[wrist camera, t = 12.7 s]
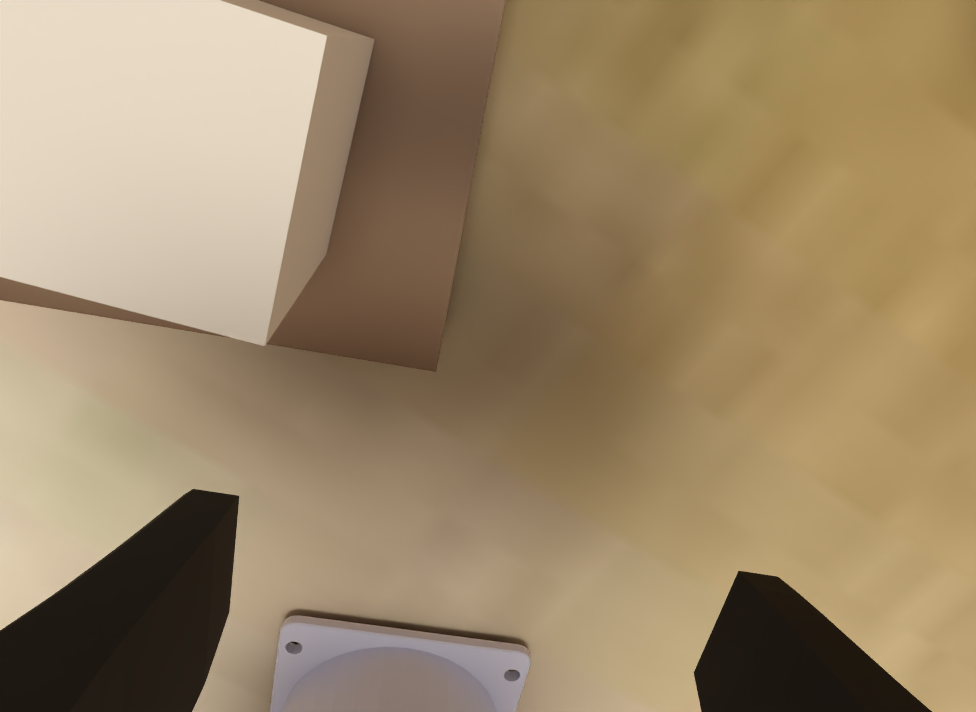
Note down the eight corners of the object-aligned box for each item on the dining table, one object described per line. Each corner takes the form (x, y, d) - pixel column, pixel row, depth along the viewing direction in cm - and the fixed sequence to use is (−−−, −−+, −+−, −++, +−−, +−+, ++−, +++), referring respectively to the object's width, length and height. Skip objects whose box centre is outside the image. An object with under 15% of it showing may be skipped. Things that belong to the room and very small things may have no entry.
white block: (326, 254, 15) (264, 346, 10) (114, 193, 14) (-51, 263, 10) (374, 38, 13) (327, 36, 9) (136, -41, 13) (-50, -90, 8)
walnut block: (439, 325, 19) (435, 371, 16) (51, 259, 18) (-23, 296, 15) (517, -101, 15) (530, -135, 12) (30, -219, 14) (-75, -285, 11)
